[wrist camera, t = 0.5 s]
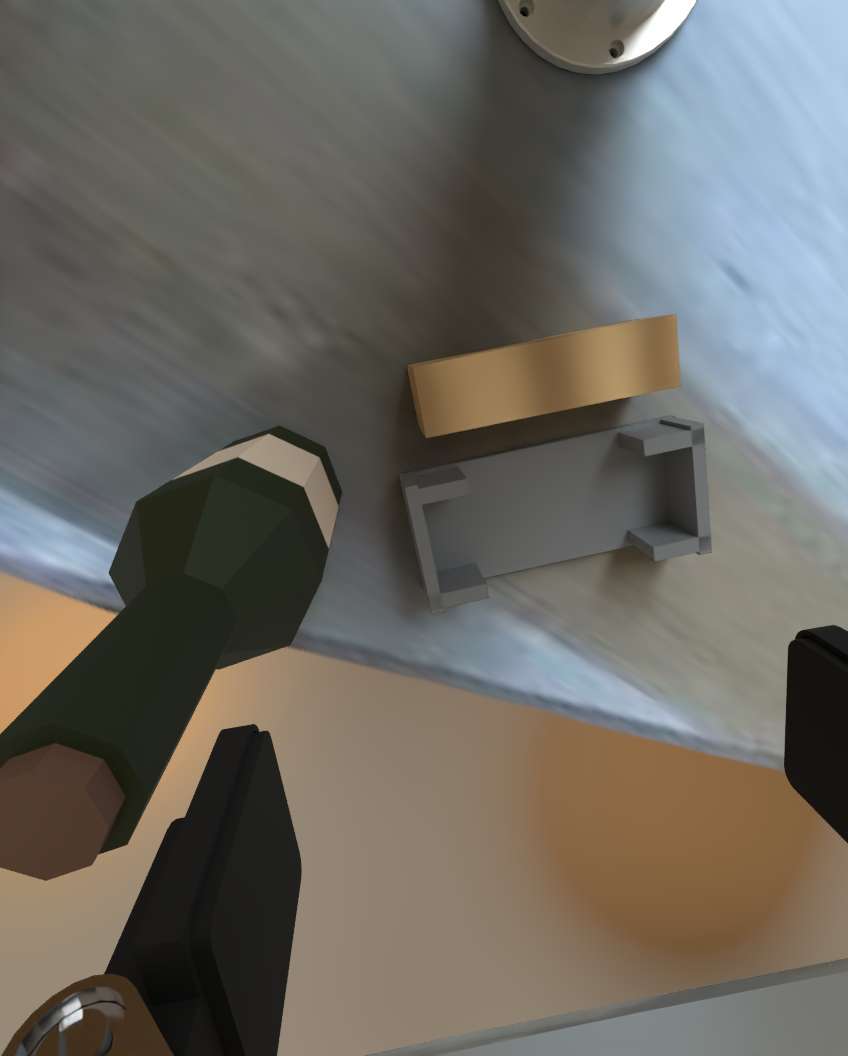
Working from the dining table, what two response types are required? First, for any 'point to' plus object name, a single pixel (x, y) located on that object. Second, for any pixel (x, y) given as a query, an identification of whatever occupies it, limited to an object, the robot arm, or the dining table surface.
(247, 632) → the wine bottle
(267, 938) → the robot arm
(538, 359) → the slat
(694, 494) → the end-cap rail
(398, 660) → the dining table surface
